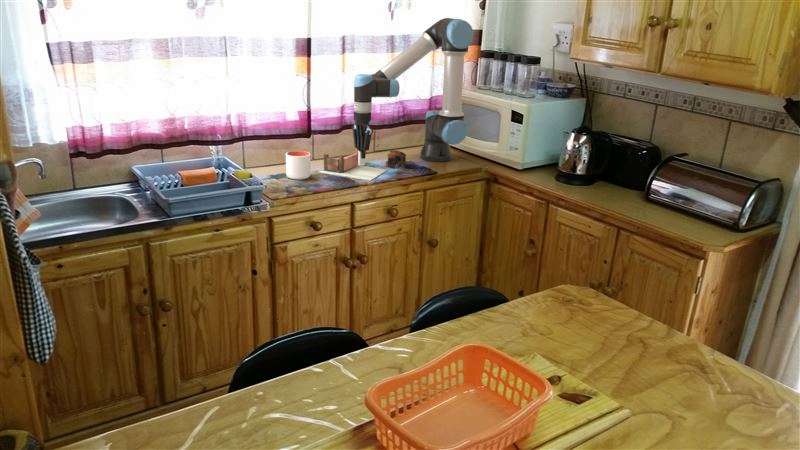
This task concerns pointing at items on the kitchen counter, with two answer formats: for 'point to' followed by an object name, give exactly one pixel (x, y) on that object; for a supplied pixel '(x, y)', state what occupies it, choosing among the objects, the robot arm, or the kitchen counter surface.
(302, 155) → the cup
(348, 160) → the fence panel
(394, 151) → the brown rock
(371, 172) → the card
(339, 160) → the fence fixed
